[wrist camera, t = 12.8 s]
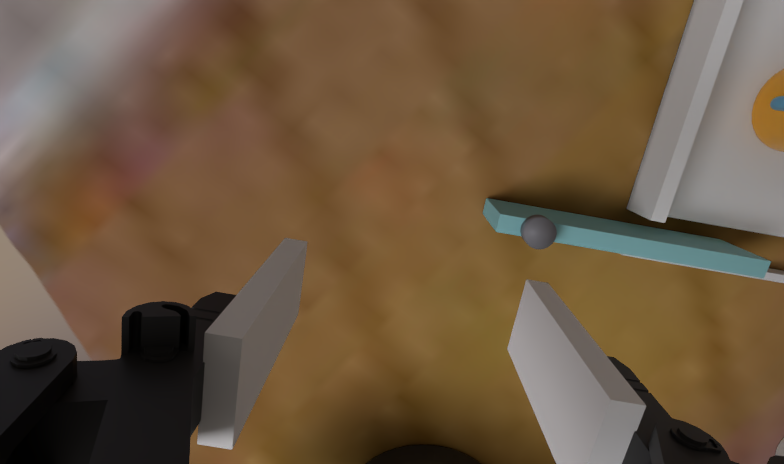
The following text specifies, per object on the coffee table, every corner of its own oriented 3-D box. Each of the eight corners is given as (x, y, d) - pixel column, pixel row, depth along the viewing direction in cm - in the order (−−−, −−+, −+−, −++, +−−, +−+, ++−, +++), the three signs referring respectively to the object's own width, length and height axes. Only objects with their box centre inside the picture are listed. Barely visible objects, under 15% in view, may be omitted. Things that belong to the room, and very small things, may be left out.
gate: (481, 218, 34) (497, 242, 29) (487, 192, 34) (505, 211, 28) (712, 258, 35) (773, 290, 29) (721, 234, 34) (786, 261, 29)
